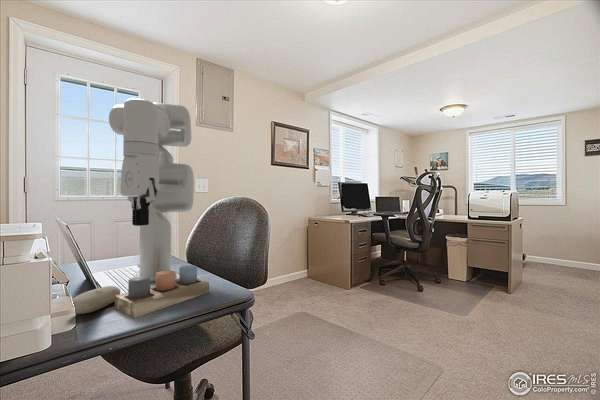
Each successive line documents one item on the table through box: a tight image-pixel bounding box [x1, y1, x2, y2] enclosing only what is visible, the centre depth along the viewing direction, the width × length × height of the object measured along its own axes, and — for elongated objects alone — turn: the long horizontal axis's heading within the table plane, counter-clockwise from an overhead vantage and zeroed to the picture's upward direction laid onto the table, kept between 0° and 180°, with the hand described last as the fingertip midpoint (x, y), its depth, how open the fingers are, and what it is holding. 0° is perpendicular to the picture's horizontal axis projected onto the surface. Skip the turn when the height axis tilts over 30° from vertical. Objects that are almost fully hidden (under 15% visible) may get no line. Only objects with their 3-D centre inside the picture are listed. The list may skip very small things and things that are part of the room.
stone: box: [71, 285, 121, 315], centre depth 71 cm, size 6×6×12 cm
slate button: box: [178, 264, 198, 284], centre depth 83 cm, size 5×5×4 cm
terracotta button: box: [155, 269, 176, 290], centre depth 77 cm, size 5×5×4 cm
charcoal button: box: [127, 276, 151, 298], centre depth 72 cm, size 5×5×4 cm
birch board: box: [114, 278, 210, 319], centre depth 78 cm, size 10×21×3 cm, turn 147°
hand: (140, 224), depth 71 cm, fingers closed
